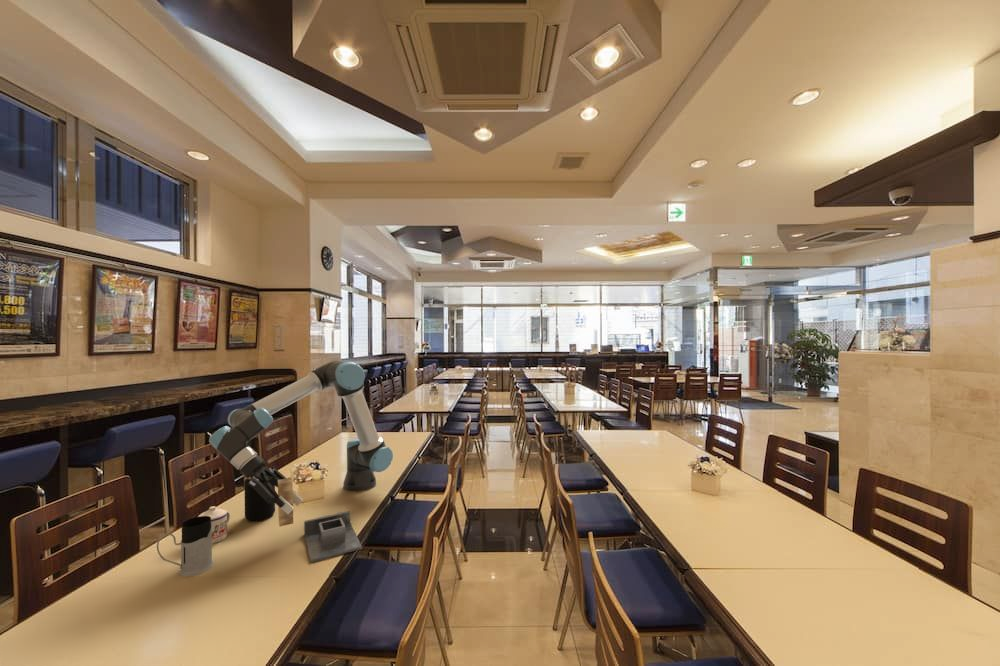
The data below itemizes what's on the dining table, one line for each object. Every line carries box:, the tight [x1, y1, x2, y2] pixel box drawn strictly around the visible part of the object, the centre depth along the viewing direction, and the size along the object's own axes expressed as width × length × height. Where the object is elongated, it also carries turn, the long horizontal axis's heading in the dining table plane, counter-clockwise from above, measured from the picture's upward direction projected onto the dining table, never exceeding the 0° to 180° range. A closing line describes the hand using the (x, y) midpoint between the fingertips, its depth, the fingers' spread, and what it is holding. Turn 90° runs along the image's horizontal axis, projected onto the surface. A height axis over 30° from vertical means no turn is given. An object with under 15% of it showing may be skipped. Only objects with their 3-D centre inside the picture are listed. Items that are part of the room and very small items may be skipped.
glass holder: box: [156, 516, 215, 578], centre depth 127 cm, size 9×14×15 cm, turn 141°
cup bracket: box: [303, 510, 363, 564], centre depth 145 cm, size 16×22×6 cm
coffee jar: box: [244, 476, 276, 523], centre depth 165 cm, size 11×11×18 cm
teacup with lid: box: [197, 505, 230, 545], centre depth 149 cm, size 12×9×12 cm
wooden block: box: [277, 477, 294, 527], centre depth 144 cm, size 4×4×15 cm
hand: (295, 507), depth 144 cm, fingers closed on wooden block, 6 cm apart
